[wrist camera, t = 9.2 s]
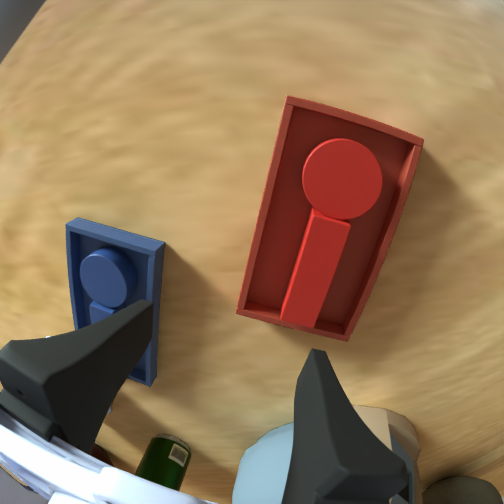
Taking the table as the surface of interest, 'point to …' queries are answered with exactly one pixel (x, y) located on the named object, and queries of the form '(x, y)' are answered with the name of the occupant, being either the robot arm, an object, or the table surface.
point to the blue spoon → (108, 281)
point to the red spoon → (329, 221)
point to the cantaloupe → (462, 492)
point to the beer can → (165, 461)
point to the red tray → (298, 209)
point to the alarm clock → (280, 448)
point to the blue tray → (148, 286)
